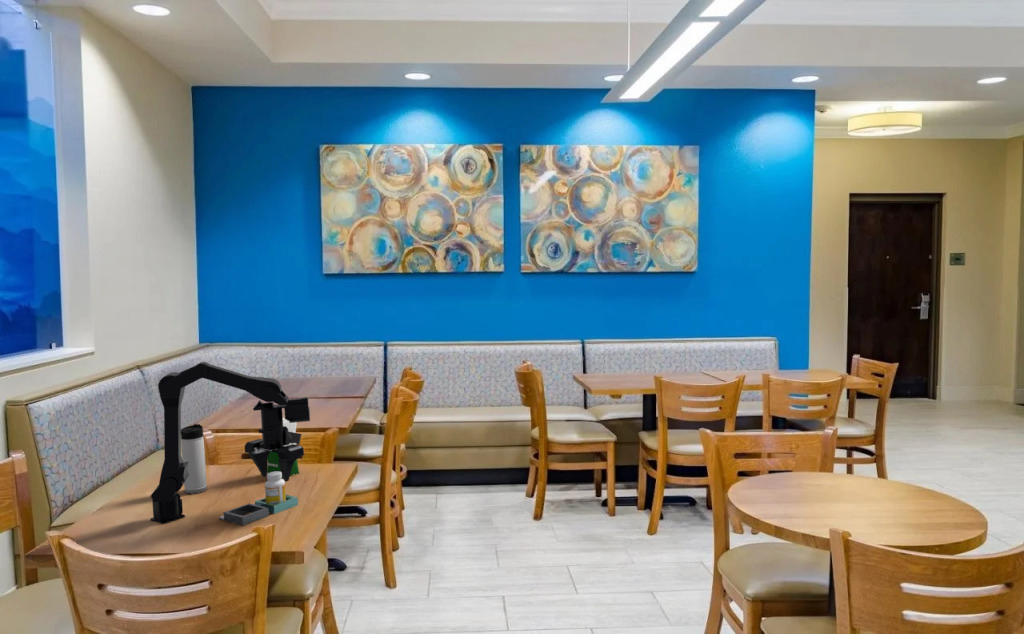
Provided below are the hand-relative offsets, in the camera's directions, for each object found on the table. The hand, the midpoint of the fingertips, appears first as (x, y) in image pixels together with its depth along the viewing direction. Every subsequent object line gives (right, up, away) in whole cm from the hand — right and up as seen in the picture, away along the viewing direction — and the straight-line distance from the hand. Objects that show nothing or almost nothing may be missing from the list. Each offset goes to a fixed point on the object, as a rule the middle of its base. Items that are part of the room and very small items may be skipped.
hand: (275, 478), depth 204 cm
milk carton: (-8, -6, +32) cm, 34 cm away
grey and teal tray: (-4, -8, -3) cm, 10 cm away
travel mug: (-30, -8, +18) cm, 36 cm away
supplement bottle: (0, -8, +1) cm, 8 cm away
